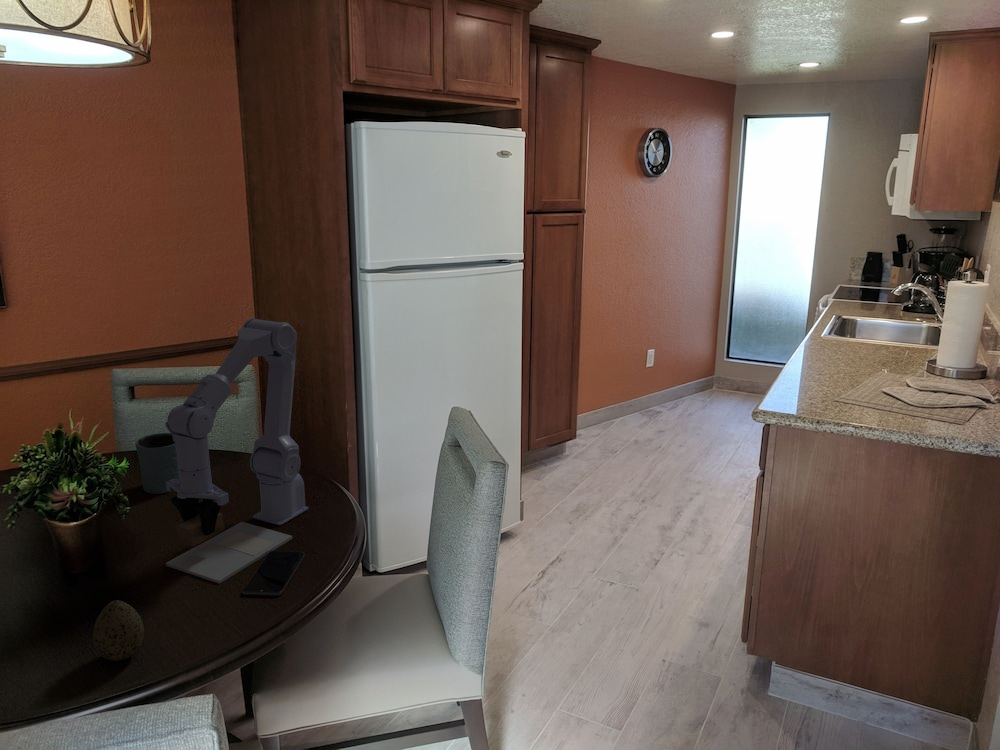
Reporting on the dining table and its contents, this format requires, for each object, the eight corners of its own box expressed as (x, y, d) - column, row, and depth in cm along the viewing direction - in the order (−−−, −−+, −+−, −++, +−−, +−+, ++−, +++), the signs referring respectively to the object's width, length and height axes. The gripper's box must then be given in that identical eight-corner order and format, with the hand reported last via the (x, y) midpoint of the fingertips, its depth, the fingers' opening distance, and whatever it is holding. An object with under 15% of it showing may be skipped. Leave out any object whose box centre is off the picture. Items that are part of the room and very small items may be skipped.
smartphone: (305, 551, 152) (280, 593, 136) (305, 556, 152) (280, 598, 136) (269, 550, 152) (240, 591, 136) (269, 555, 152) (240, 597, 137)
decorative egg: (152, 641, 123) (145, 587, 120) (139, 669, 116) (131, 612, 113) (105, 645, 122) (98, 590, 119) (89, 673, 115) (81, 616, 112)
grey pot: (153, 477, 187) (148, 432, 184) (193, 478, 186) (189, 433, 183) (132, 494, 177) (126, 446, 174) (175, 496, 177) (169, 448, 173)
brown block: (209, 525, 152) (208, 509, 151) (224, 529, 151) (222, 513, 150) (177, 542, 145) (175, 525, 144) (192, 547, 144) (190, 530, 143)
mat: (242, 524, 163) (241, 521, 163) (292, 538, 158) (292, 535, 157) (166, 565, 146) (165, 562, 146) (219, 583, 140) (219, 580, 140)
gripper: (150, 466, 144) (157, 530, 147) (205, 480, 137) (212, 547, 141) (180, 454, 150) (186, 516, 153) (234, 467, 144) (240, 532, 147)
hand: (200, 530), depth 148 cm, fingers closed on brown block, 4 cm apart
